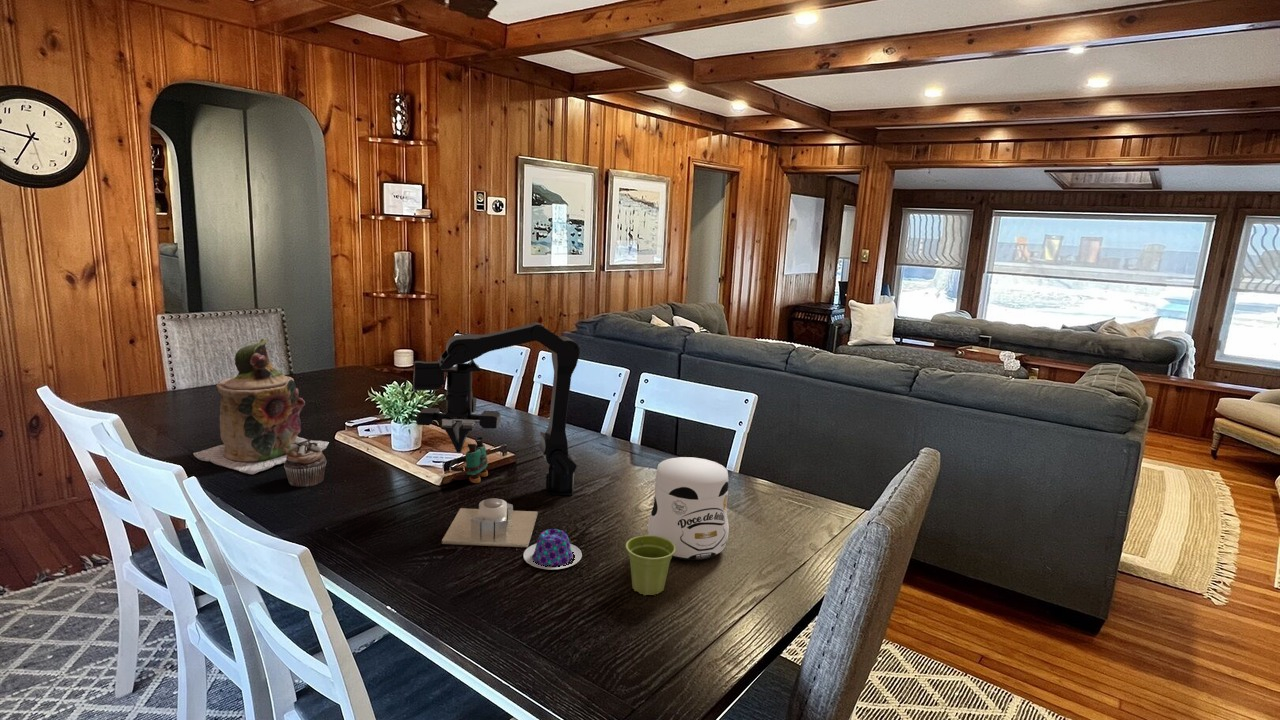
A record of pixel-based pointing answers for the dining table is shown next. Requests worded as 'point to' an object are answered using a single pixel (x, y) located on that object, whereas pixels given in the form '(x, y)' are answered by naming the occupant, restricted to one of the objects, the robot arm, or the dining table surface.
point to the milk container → (691, 507)
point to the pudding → (552, 550)
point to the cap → (493, 509)
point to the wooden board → (491, 529)
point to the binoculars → (473, 462)
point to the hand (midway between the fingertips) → (459, 452)
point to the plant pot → (649, 563)
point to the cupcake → (305, 464)
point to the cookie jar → (256, 415)
